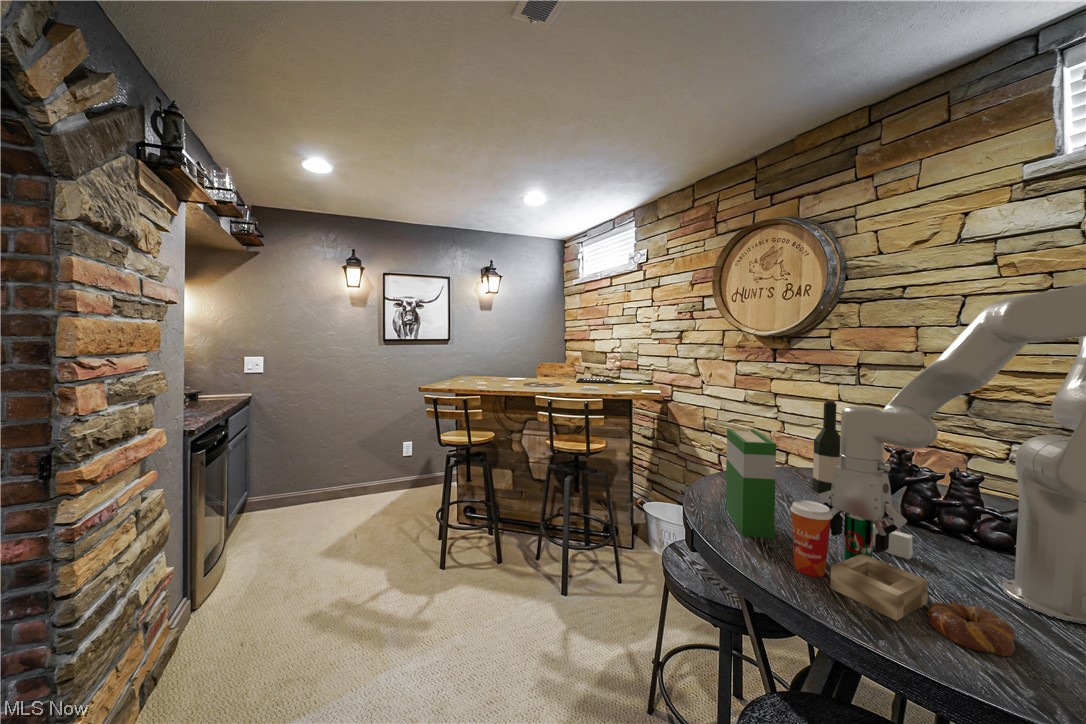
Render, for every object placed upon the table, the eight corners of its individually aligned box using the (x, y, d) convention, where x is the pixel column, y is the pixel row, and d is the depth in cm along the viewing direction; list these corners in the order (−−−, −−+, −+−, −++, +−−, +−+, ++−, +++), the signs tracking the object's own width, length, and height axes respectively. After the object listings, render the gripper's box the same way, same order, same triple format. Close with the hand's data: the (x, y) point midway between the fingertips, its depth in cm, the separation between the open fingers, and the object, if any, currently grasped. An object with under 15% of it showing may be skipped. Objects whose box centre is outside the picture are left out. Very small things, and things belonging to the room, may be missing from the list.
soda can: (862, 559, 94) (863, 507, 94) (877, 571, 89) (879, 516, 89) (838, 558, 95) (839, 506, 94) (852, 570, 90) (854, 515, 89)
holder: (927, 603, 78) (928, 580, 78) (896, 620, 73) (897, 596, 73) (861, 574, 88) (861, 553, 88) (830, 588, 83) (830, 566, 83)
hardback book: (725, 508, 123) (727, 428, 122) (752, 510, 122) (754, 429, 121) (742, 535, 106) (744, 442, 105) (773, 538, 105) (776, 443, 103)
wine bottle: (806, 488, 140) (808, 399, 139) (825, 486, 143) (827, 398, 141) (830, 497, 132) (833, 403, 131) (849, 494, 135) (852, 402, 133)
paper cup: (780, 564, 92) (781, 502, 92) (805, 558, 95) (806, 497, 94) (814, 583, 85) (816, 515, 84) (840, 576, 88) (842, 510, 87)
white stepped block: (835, 536, 107) (836, 514, 107) (881, 536, 107) (881, 514, 106) (881, 567, 92) (881, 541, 92) (934, 567, 92) (935, 542, 91)
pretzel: (943, 606, 78) (944, 587, 78) (1030, 643, 68) (1031, 621, 68) (913, 625, 73) (913, 604, 72) (1003, 668, 63) (1004, 645, 63)
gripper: (919, 472, 85) (915, 557, 86) (828, 452, 100) (826, 523, 101) (900, 478, 81) (896, 565, 82) (809, 456, 97) (807, 530, 98)
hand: (857, 542), depth 92 cm, fingers open, 8 cm apart
